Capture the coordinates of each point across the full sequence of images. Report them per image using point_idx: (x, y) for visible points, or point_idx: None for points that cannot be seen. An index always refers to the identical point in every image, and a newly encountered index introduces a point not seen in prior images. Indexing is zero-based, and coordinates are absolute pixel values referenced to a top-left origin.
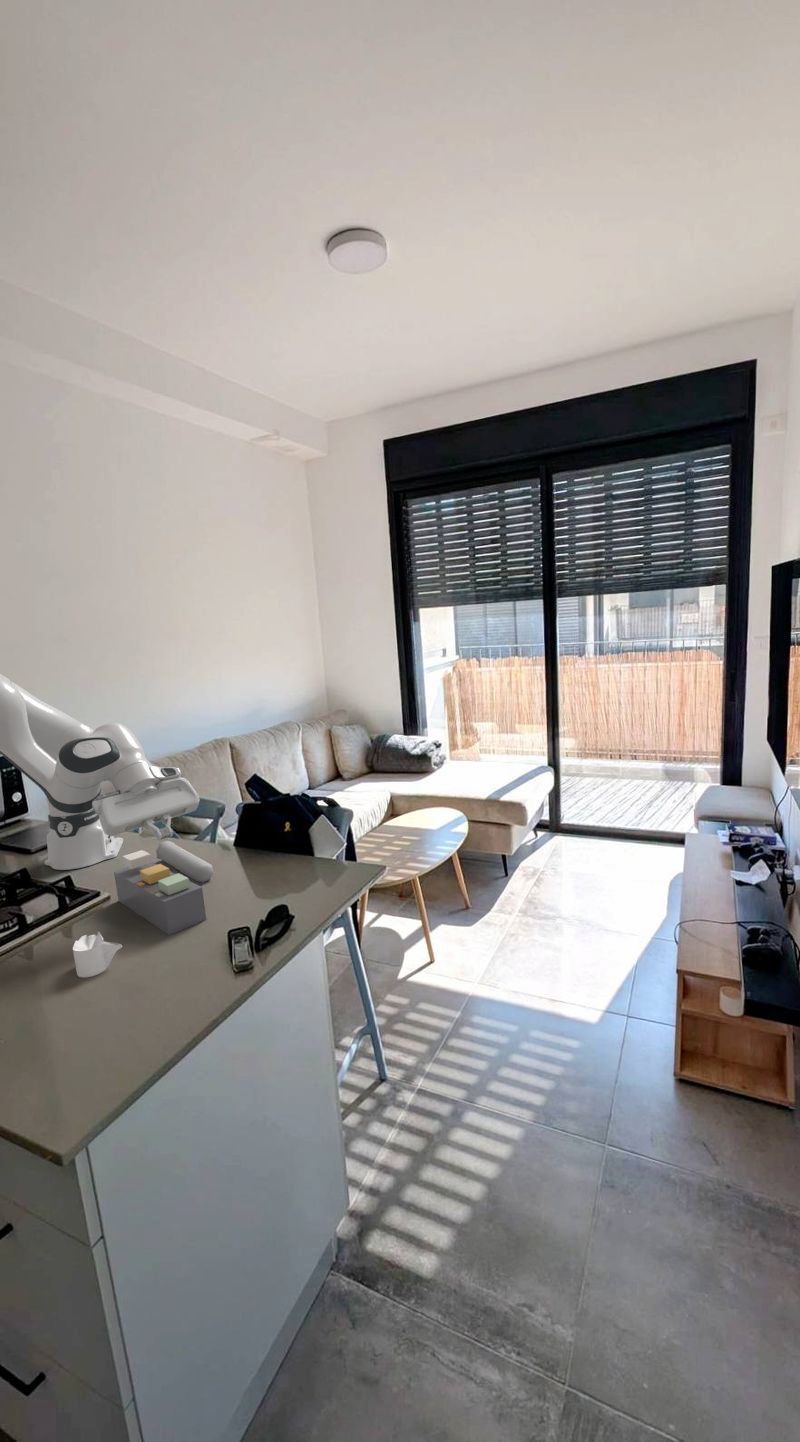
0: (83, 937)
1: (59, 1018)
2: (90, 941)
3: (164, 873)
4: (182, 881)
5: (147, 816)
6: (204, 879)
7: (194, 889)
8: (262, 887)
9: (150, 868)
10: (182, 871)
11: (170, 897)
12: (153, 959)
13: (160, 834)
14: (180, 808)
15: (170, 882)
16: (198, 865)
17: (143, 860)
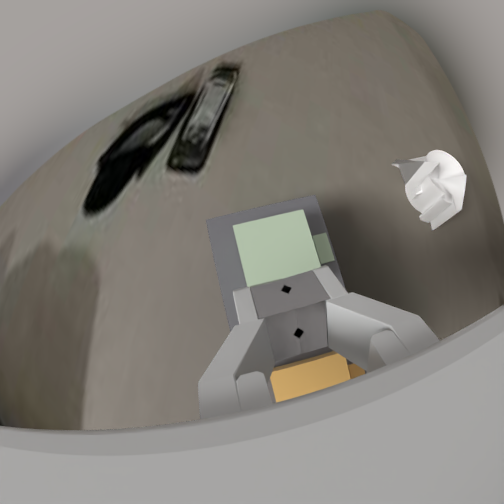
0: (458, 207)
1: (435, 112)
2: (445, 189)
3: (287, 366)
4: (254, 221)
5: (450, 342)
6: None
7: (227, 219)
8: (75, 322)
9: None
10: None
11: (296, 210)
12: (338, 158)
13: (321, 272)
14: (75, 430)
15: (290, 229)
16: None
17: None
